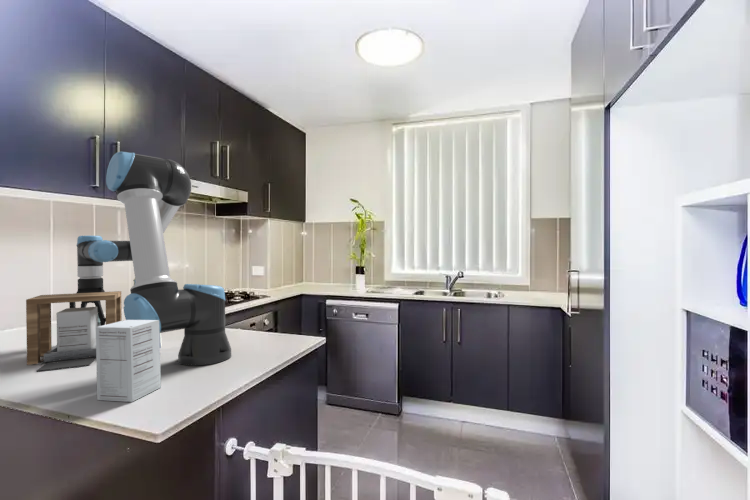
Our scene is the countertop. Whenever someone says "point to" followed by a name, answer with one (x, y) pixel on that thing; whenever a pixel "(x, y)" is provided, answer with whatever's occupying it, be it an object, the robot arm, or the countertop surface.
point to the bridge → (41, 318)
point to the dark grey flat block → (66, 364)
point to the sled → (68, 353)
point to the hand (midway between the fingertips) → (91, 340)
